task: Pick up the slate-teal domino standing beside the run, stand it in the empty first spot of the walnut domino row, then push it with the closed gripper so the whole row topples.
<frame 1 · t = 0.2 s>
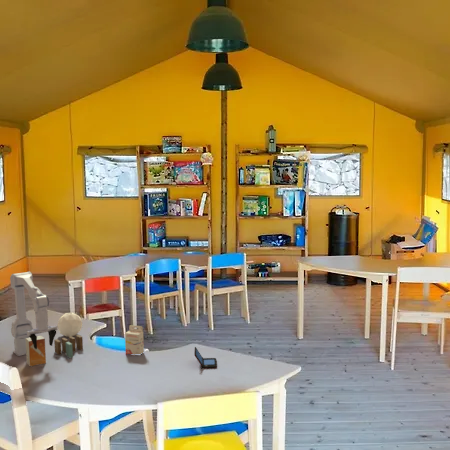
hand: (43, 346, 279), 10 cm above the table, fingers open, 7 cm apart
domino 4: (72, 350, 304), on the table
domino 3: (65, 351, 302), on the table
domino 2: (58, 353, 300), on the table
handheld game console: (205, 364, 281), on the table
geodesic sphere: (70, 336, 330), on the table
domino 5: (79, 348, 307), on the table
small box: (36, 363, 286), on the table
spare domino: (69, 356, 295), on the table
ink cartridge box: (134, 354, 297), on the table
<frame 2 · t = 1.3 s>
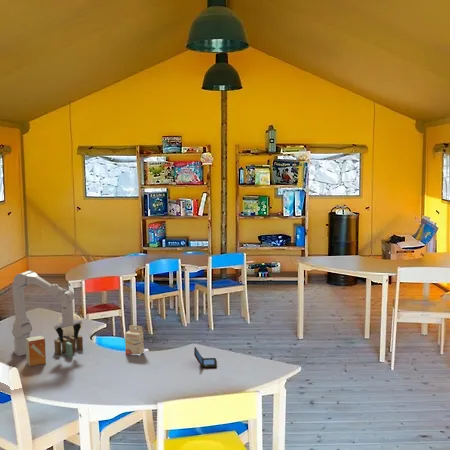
hand: (68, 340, 294), 9 cm above the table, fingers open, 7 cm apart
nothing on the table moved.
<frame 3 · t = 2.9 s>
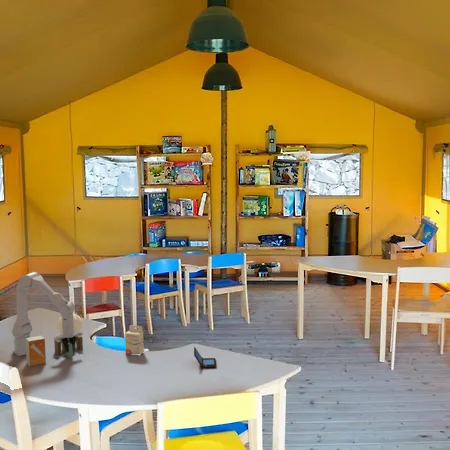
hand: (69, 351, 295), 3 cm above the table, fingers closed on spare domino, 2 cm apart
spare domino: (69, 356, 295), on the table, touching gripper
everything else where it was.
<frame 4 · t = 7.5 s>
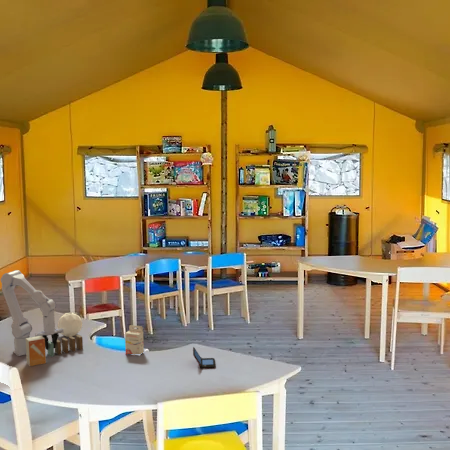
hand: (50, 348, 297), 4 cm above the table, fingers open, 3 cm apart
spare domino: (50, 355, 297), on the table
everything else where it was.
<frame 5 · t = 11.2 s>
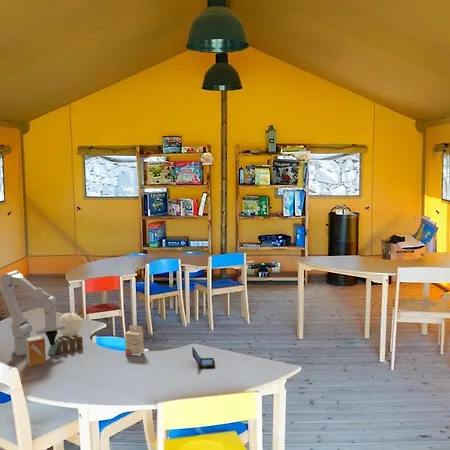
hand: (51, 344, 297), 5 cm above the table, fingers closed
domino 2: (58, 353, 300), on the table, tilted 5°
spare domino: (50, 354, 297), on the table, tilted 25°
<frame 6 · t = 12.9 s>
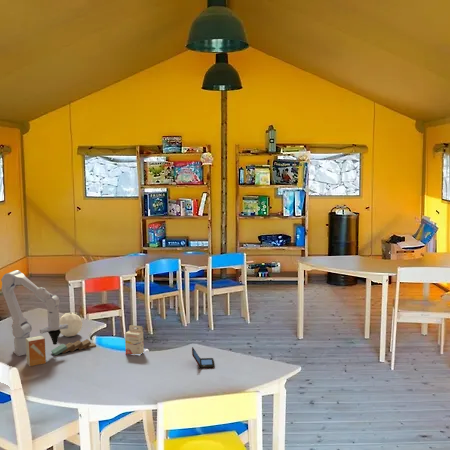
hand: (54, 344, 298), 5 cm above the table, fingers closed
domino 4: (77, 347, 306), point 1 cm above the table, tilted 72°, touching domino 3
domino 3: (69, 349, 303), point 1 cm above the table, tilted 68°, touching domino 4
domino 2: (61, 351, 300), point 1 cm above the table, tilted 68°, touching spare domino
domino 5: (82, 347, 308), on the table, tilted 90°
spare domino: (53, 353, 298), point 1 cm above the table, tilted 69°, touching domino 2
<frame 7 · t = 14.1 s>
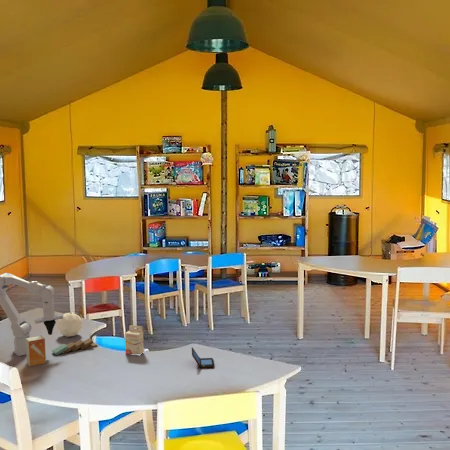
hand: (50, 334, 299), 10 cm above the table, fingers closed
domino 4: (79, 346, 307), point 1 cm above the table, tilted 71°, touching domino 5
domino 3: (71, 349, 304), point 1 cm above the table, tilted 67°
domino 5: (83, 347, 308), on the table, tilted 90°, touching domino 4
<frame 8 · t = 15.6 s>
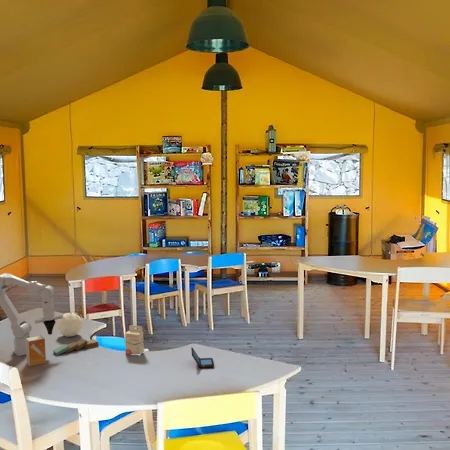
hand: (50, 334, 299), 10 cm above the table, fingers closed
domino 4: (84, 344, 309), point 1 cm above the table, tilted 89°, touching domino 3, domino 5
domino 3: (74, 348, 305), point 1 cm above the table, tilted 68°, touching domino 2, domino 4
domino 2: (64, 350, 301), point 1 cm above the table, tilted 71°, touching domino 3, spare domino
at the end: domino 5 tilted 90°; domino 3 tilted 68°; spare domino 1.3 cm from the target spot, point 0.7 cm above the table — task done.
